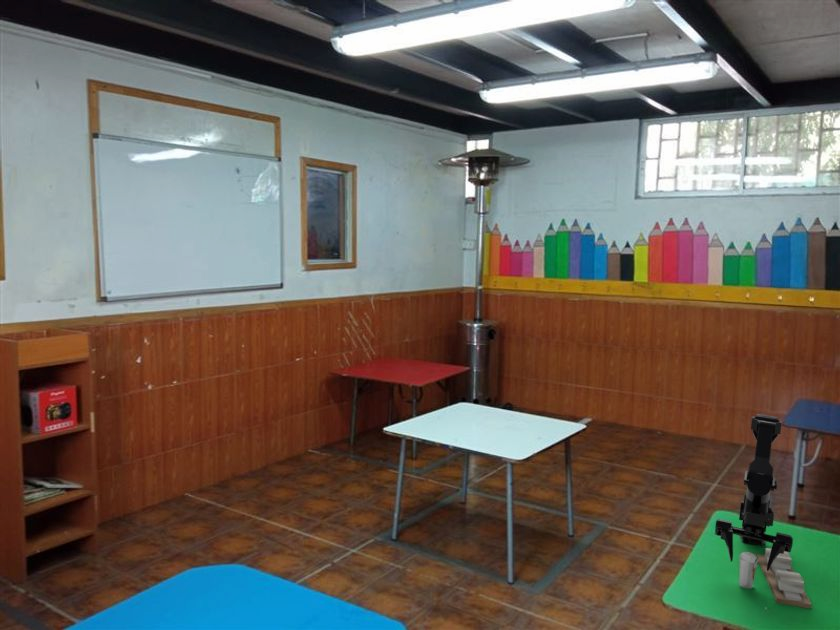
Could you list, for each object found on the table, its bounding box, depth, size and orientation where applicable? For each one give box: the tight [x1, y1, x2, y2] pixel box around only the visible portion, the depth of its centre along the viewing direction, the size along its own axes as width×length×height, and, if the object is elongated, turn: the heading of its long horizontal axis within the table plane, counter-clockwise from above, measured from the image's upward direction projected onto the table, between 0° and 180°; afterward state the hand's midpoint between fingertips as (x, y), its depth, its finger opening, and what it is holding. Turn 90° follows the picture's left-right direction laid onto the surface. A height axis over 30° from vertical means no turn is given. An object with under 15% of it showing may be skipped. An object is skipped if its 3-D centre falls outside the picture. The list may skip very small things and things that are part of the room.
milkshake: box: [738, 551, 759, 590], centre depth 180 cm, size 4×5×10 cm
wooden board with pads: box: [756, 547, 812, 609], centre depth 184 cm, size 24×8×5 cm, turn 165°
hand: (749, 565), depth 179 cm, fingers open, 8 cm apart
